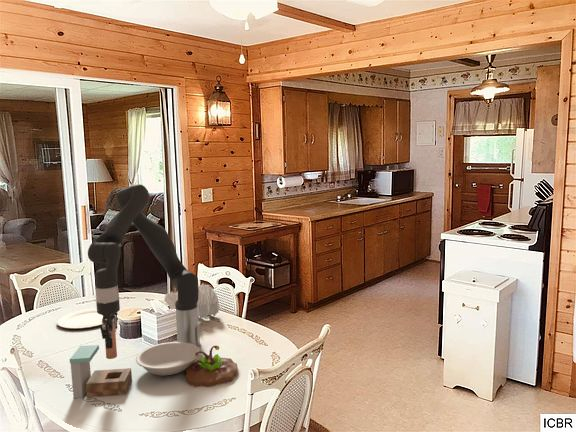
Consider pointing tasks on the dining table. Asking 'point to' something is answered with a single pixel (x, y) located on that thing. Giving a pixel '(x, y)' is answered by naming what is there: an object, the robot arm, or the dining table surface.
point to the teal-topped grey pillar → (81, 368)
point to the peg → (112, 351)
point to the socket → (109, 382)
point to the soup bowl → (167, 357)
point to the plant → (211, 370)
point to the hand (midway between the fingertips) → (110, 345)
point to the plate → (81, 319)
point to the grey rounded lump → (199, 301)
